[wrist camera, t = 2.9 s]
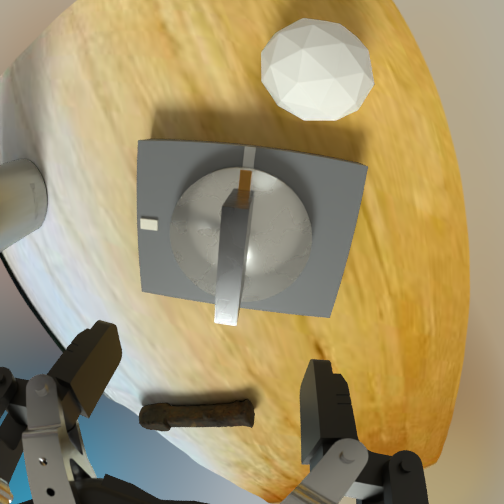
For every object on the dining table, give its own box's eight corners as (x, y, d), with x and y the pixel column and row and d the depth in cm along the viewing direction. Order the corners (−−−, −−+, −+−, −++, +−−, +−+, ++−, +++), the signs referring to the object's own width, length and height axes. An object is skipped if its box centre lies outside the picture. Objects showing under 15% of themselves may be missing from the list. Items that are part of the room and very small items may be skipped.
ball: (290, 67, 21) (274, -3, 14) (377, 89, 19) (386, 14, 11) (255, 127, 20) (224, 50, 13) (356, 156, 18) (368, 75, 11)
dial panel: (151, 278, 28) (141, 292, 26) (150, 138, 22) (137, 140, 20) (325, 302, 28) (329, 319, 25) (358, 162, 22) (368, 166, 19)
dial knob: (174, 285, 25) (150, 327, 19) (176, 160, 20) (142, 173, 15) (296, 302, 25) (301, 349, 19) (322, 177, 20) (340, 195, 15)
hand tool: (250, 394, 35) (247, 421, 31) (256, 409, 36) (254, 435, 32) (135, 395, 38) (125, 416, 34) (146, 409, 40) (138, 430, 35)
